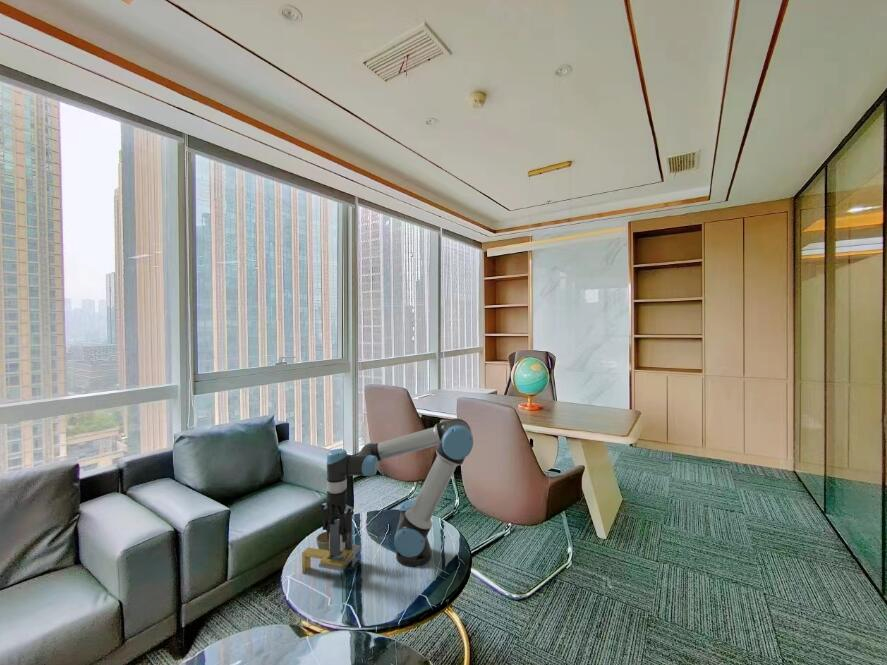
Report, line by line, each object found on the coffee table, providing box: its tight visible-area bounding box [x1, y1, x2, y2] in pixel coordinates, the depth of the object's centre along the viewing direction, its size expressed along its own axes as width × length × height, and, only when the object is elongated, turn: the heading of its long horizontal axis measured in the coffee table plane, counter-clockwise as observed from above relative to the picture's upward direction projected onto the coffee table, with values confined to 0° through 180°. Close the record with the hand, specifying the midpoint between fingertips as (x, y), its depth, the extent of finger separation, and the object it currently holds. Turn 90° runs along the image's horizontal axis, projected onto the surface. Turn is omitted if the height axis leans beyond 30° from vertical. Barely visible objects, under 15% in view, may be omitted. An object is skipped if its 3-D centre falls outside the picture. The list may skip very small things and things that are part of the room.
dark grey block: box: [330, 518, 344, 557], centre depth 151 cm, size 4×4×12 cm
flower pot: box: [315, 530, 330, 551], centre depth 167 cm, size 10×10×7 cm
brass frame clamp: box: [301, 509, 362, 575], centre depth 155 cm, size 20×16×22 cm
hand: (337, 548), depth 151 cm, fingers closed on dark grey block, 4 cm apart
